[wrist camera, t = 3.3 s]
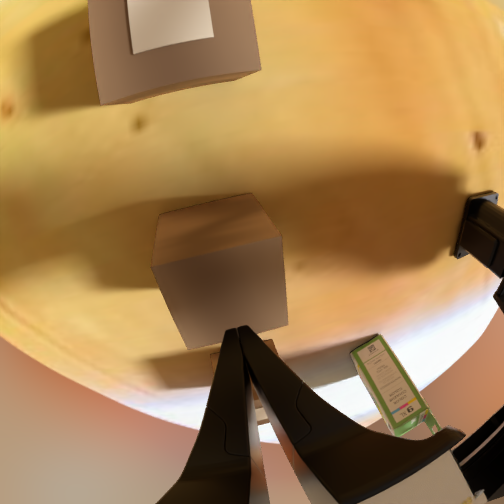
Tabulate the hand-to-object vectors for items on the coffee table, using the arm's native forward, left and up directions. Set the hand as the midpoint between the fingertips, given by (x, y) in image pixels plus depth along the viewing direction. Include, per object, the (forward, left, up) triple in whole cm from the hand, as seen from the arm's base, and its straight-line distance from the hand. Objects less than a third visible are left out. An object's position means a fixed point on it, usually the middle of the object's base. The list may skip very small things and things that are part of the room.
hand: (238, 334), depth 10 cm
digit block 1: (0, -11, -7) cm, 13 cm away
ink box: (-13, +18, -7) cm, 23 cm away
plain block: (0, 0, -7) cm, 7 cm away
